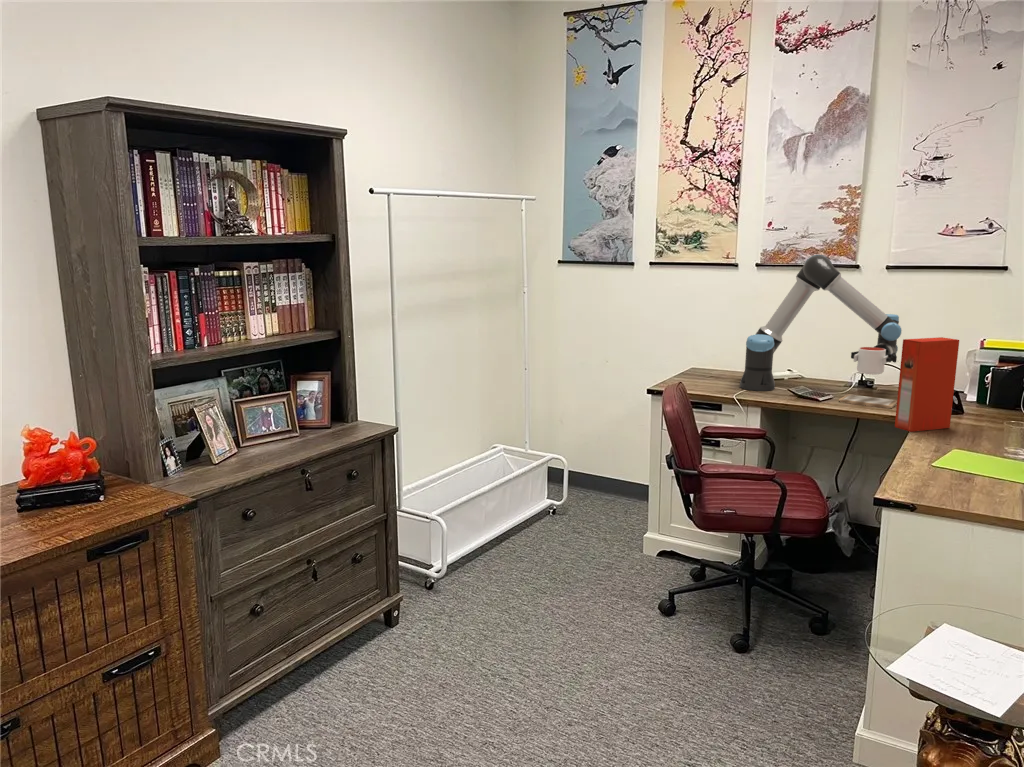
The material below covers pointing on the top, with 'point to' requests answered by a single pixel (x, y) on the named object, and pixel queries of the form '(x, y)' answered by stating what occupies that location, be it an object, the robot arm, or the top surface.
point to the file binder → (926, 383)
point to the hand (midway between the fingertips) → (868, 359)
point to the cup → (871, 360)
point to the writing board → (868, 401)
